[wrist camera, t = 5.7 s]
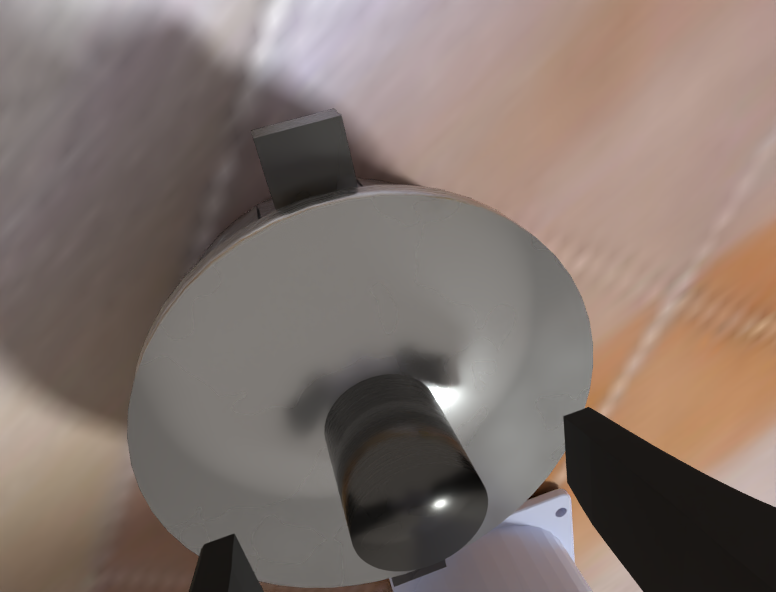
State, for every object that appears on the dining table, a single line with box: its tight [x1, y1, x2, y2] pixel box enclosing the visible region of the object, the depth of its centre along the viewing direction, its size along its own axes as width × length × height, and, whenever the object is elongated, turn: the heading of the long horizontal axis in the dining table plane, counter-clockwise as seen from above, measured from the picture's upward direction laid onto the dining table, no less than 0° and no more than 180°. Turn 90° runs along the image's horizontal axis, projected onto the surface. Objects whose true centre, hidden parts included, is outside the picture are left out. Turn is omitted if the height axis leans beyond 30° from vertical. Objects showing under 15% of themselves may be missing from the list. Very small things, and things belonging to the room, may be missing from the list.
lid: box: [127, 185, 593, 588], centre depth 13 cm, size 11×11×5 cm
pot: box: [198, 109, 447, 587], centre depth 17 cm, size 15×10×4 cm
